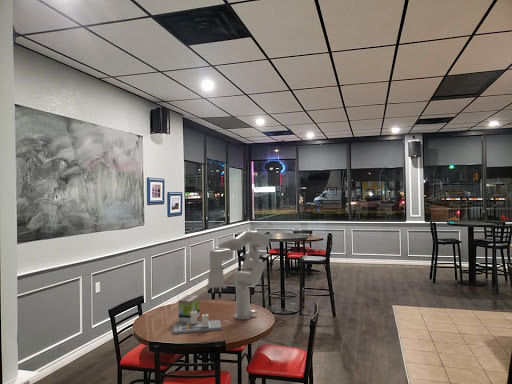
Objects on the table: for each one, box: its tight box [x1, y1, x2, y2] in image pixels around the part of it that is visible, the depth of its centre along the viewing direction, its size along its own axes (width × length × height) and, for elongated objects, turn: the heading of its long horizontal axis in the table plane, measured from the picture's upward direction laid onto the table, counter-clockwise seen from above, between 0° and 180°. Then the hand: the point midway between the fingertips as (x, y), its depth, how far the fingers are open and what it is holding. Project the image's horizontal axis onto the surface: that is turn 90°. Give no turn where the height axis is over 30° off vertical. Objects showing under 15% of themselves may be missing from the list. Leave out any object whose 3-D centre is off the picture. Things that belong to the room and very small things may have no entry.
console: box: [172, 319, 223, 335], centre depth 225 cm, size 30×14×2 cm, turn 101°
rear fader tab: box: [191, 311, 198, 324], centre depth 229 cm, size 4×3×7 cm
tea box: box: [178, 294, 201, 323], centre depth 242 cm, size 15×10×15 cm, turn 168°
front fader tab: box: [201, 313, 210, 327], centre depth 222 cm, size 4×3×7 cm
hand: (216, 298), depth 224 cm, fingers open, 2 cm apart
